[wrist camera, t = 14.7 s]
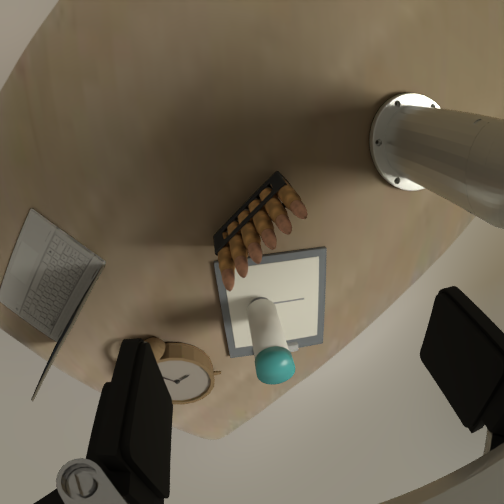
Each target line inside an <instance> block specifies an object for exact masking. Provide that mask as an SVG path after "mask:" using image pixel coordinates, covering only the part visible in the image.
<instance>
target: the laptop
mask: <svg viewBox="0 0 504 504" xmlns="http://www.w3.org/2000/svg"><path fill="white" fill-rule="evenodd" d="M81 246H82V247H81ZM86 249H87V250H88V251H89V252H88V251H87V250H86ZM105 263H106V262H105V260H103V259H102V258H100V257H99V256H98V255H96V254H95V253H93V252H92V251H91V250H89V249H88V248H86V247H85V246H83V245H82V244H81V243H79V242H78V241H76V240H75V239H74V238H72V237H71V236H69V235H68V234H67V233H65V232H64V231H62V230H61V229H60V228H58V227H57V226H56V225H54V224H53V223H51V222H50V221H49V220H47V219H46V218H45V217H43V216H42V215H41V214H39V213H38V212H37V211H35V210H34V209H32V208H31V209H30V211H29V214H28V216H27V218H26V220H25V223H24V225H23V228H22V230H21V232H20V235H19V237H18V240H17V242H16V245H15V248H14V250H13V253H12V256H11V258H10V261H9V264H8V267H7V270H6V273H5V276H4V279H3V282H2V285H1V288H0V302H1V303H2V304H4V305H5V306H6V307H8V308H9V309H10V310H12V311H13V312H14V313H16V314H17V315H18V316H20V317H21V318H22V319H24V320H25V321H26V322H28V323H29V324H31V325H32V326H33V327H35V328H36V329H38V330H39V331H41V332H42V333H44V334H45V335H47V336H48V337H50V338H51V339H53V340H54V341H56V342H57V344H56V346H55V348H54V350H53V352H52V354H51V356H50V358H49V360H48V363H47V365H46V367H45V369H44V371H43V374H42V376H41V378H40V380H39V383H38V385H37V387H36V390H35V392H34V394H33V397H32V399H31V400H32V401H33V400H34V399H35V396H36V395H37V392H38V390H39V388H40V386H41V384H42V382H43V380H44V378H45V377H46V374H47V373H48V371H49V368H50V367H51V365H52V363H53V361H54V359H55V357H56V356H57V354H58V352H59V350H60V348H61V346H62V345H63V343H64V341H65V339H66V337H67V336H68V334H69V332H70V330H71V329H72V327H73V325H74V323H75V321H76V319H77V317H78V315H79V313H80V311H81V309H82V307H83V305H84V303H85V302H86V300H87V298H88V296H89V294H90V292H91V290H92V288H93V286H94V285H95V283H96V281H97V279H98V277H99V276H100V274H101V272H102V270H103V268H104V266H105ZM96 270H97V271H96ZM95 271H96V272H95ZM94 273H95V274H94ZM93 275H94V276H93ZM92 276H93V277H92ZM61 330H62V331H61ZM60 332H61V333H60ZM59 334H60V335H59Z"/></svg>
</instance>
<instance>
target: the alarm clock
mask: <svg viewBox="0 0 504 504" xmlns="http://www.w3.org/2000/svg"><path fill="white" fill-rule="evenodd" d="M147 342H148V343H149V344H150V345H151V348H152V351H153V353H154V356H155V359H156V361H157V364H158V366H159V369H160V371H161V374H162V376H163V379H164V381H165V384H166V386H167V389H168V391H169V393H170V396H171V398H172V403H173V404H188V403H193V402H196V401H198V400H201V399H203V398H204V397H206V396H207V395H208V394H209V393H210V392H211V390H212V389H213V387H214V375H218V374H221V371H213V365H212V363H211V360H210V358H209V357H208V355H207V354H206V353H205V352H204V351H202V350H200V349H199V348H197V347H195V346H192V345H188V344H184V343H166V344H165V343H164V342H163V341H162V340H161V339H159V338H156V337H153V338H148V339H146V340H145V341H144V343H147Z"/></svg>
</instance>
